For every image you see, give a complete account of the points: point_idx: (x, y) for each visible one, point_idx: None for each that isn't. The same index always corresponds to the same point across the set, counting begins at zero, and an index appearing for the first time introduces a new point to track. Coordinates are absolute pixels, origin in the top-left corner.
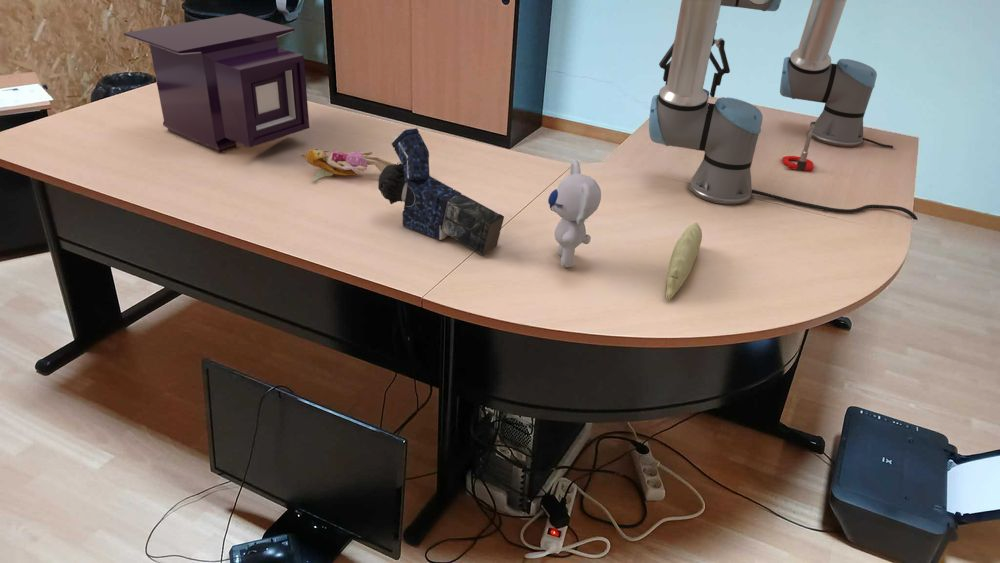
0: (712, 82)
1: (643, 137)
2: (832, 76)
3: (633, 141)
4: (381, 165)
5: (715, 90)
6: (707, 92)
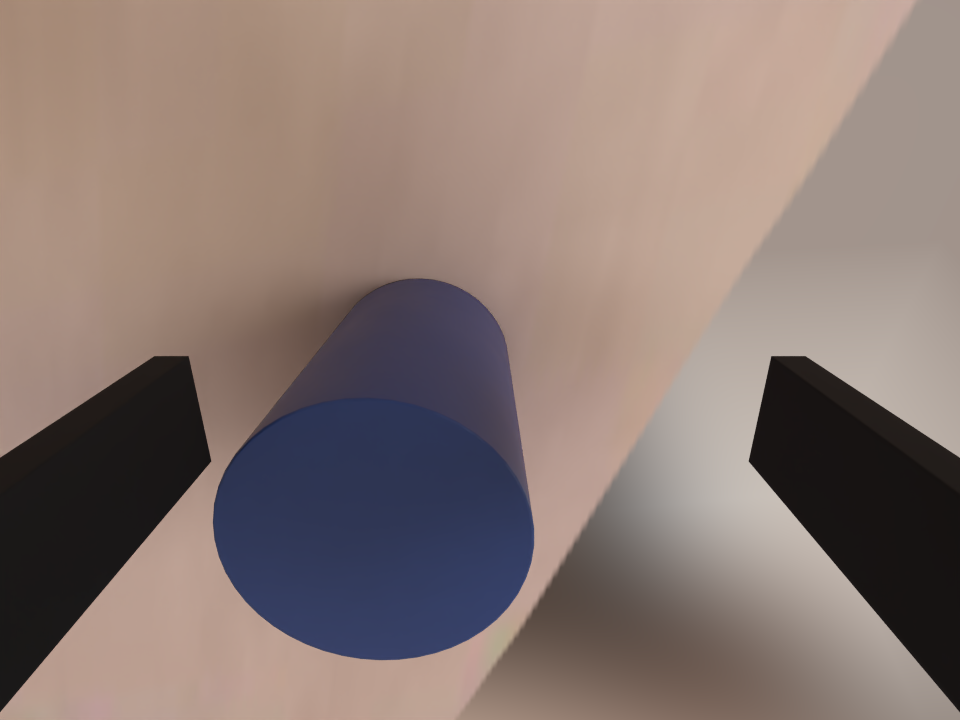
0: (112, 568)
1: (772, 161)
2: None
3: (881, 51)
4: None
5: (93, 396)
6: (236, 518)
